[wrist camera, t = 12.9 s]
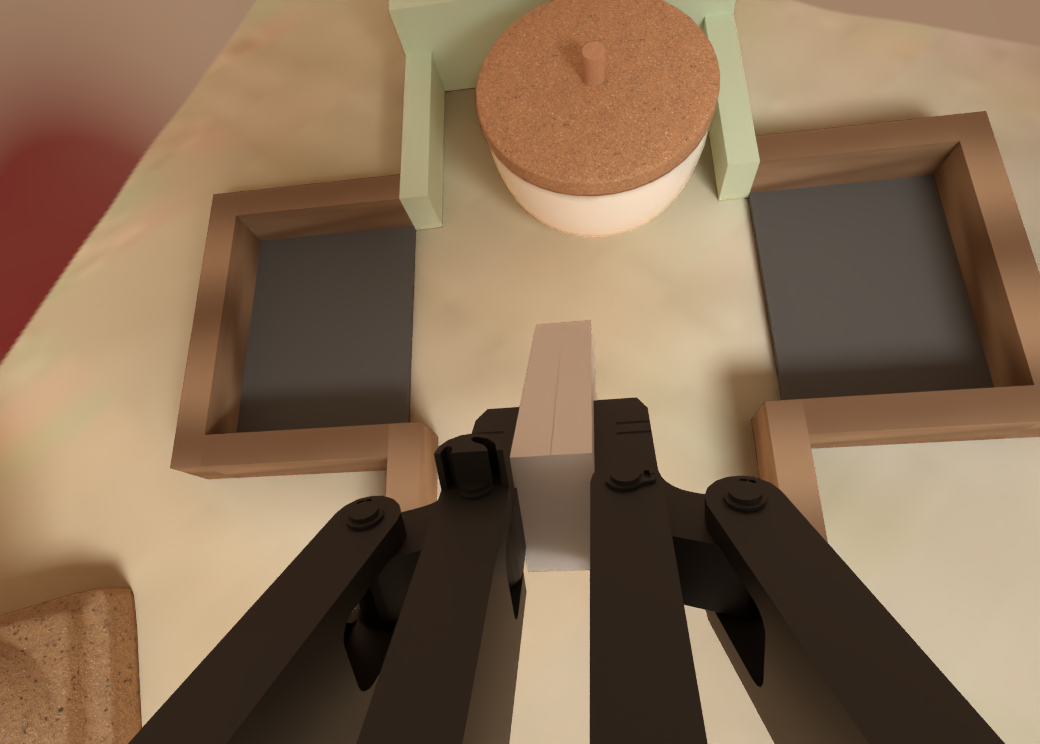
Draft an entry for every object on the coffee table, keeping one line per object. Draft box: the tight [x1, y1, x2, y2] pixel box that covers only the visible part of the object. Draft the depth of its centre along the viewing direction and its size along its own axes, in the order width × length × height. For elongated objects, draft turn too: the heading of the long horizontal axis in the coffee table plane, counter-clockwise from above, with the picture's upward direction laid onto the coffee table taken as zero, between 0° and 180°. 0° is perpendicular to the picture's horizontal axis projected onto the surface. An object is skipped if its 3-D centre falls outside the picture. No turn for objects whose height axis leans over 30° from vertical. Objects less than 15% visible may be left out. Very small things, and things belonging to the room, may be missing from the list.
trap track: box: [170, 0, 1040, 543], centre depth 30 cm, size 36×39×6 cm
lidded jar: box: [476, 0, 720, 237], centre depth 31 cm, size 11×11×9 cm
